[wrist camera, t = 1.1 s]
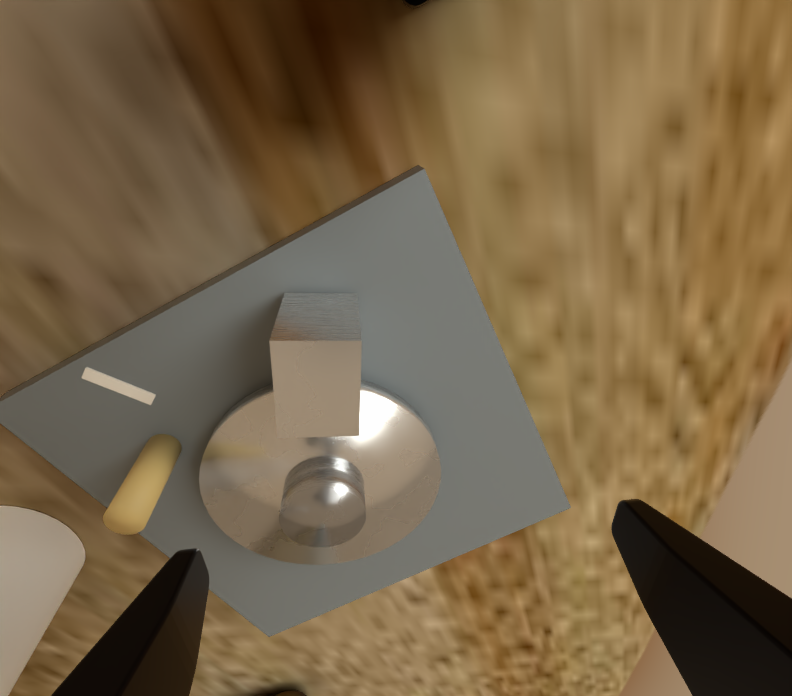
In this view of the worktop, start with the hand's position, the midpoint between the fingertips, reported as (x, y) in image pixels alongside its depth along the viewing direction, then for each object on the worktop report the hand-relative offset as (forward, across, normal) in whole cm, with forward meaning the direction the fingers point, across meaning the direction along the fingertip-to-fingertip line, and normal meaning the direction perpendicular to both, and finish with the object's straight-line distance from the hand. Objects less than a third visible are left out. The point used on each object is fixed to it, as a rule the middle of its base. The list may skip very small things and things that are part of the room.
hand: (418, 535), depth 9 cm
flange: (+11, +4, +7) cm, 14 cm away
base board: (+13, +3, +9) cm, 16 cm away
